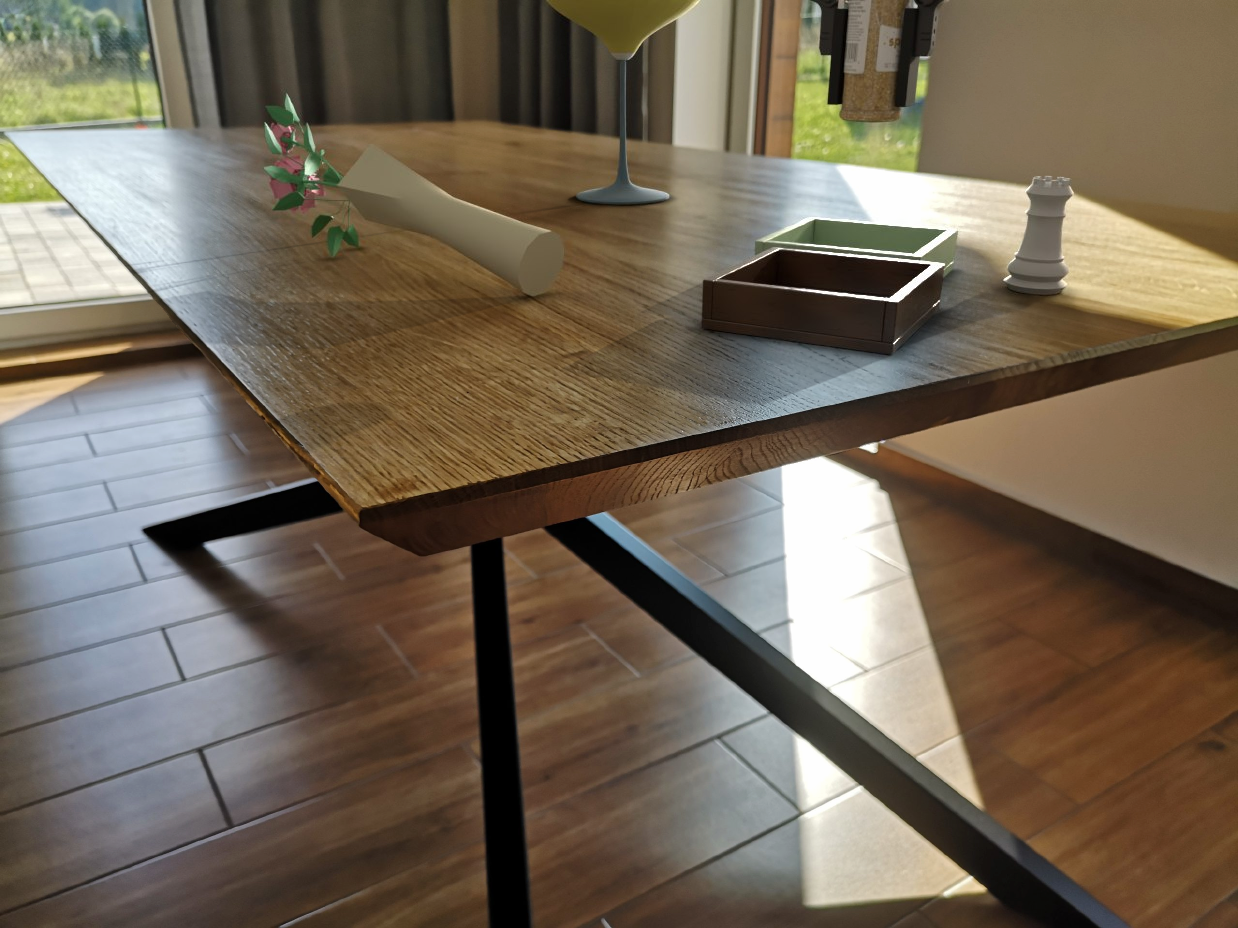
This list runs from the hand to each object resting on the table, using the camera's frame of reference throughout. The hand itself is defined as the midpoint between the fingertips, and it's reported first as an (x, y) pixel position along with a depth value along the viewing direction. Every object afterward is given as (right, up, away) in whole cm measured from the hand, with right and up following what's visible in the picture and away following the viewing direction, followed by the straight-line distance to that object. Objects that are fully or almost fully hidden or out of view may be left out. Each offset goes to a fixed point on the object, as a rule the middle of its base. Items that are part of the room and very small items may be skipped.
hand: (870, 104), depth 76 cm
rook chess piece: (+12, -14, +1) cm, 19 cm away
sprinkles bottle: (0, -1, +1) cm, 1 cm away
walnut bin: (-5, -17, -7) cm, 19 cm away
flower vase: (-37, -10, +9) cm, 40 cm away
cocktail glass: (-18, +4, +44) cm, 47 cm away
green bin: (0, -12, +5) cm, 13 cm away
